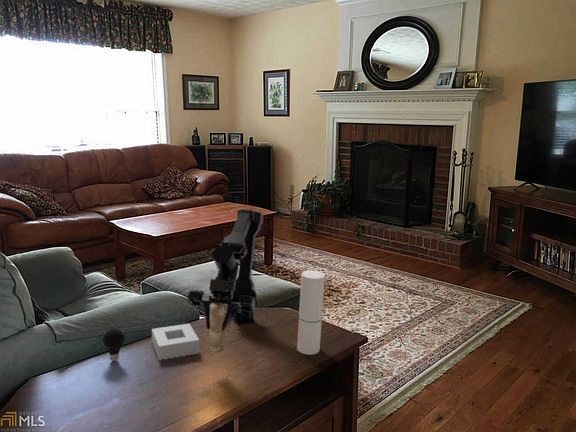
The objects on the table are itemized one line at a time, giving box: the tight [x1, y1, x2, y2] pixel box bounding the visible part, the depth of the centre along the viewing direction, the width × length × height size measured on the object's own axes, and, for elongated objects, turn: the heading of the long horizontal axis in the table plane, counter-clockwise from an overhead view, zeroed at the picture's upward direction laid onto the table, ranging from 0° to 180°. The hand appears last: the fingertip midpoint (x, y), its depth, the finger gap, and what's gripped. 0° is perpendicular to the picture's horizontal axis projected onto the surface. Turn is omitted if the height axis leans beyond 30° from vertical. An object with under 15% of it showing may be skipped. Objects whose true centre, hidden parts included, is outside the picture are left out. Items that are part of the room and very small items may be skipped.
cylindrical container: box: [296, 270, 326, 356], centre depth 149 cm, size 7×7×25 cm
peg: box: [208, 303, 226, 353], centre depth 134 cm, size 4×4×13 cm
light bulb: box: [102, 327, 125, 362], centre depth 137 cm, size 6×6×10 cm
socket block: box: [151, 323, 200, 361], centre depth 147 cm, size 12×12×4 cm
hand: (215, 329), depth 132 cm, fingers closed on peg, 4 cm apart
